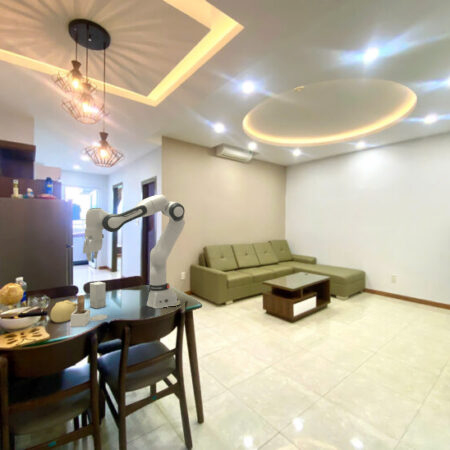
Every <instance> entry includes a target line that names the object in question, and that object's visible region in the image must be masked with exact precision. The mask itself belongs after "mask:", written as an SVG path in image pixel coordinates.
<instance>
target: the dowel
mask: <svg viewBox="0 0 450 450" xmlns="http://www.w3.org/2000/svg"><path fill="white" fill-rule="evenodd" d="M85 297H86V296H85V295H84V294H80V295H77V301H76V303H77V314H84V310H85V308H86V307H85V304H86V303H85V299H86V298H85Z"/></svg>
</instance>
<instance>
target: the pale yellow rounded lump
mask: <svg viewBox="0 0 450 450" xmlns="http://www.w3.org/2000/svg"><path fill="white" fill-rule="evenodd" d="M54 304H55V305H54V306H53V307H52V309H51V311H50V319H51V320H52V322H54V323H57V324H58V323H65V322H68V321H71V314H72V313H73V312H74V311H76V310H77V302H74V301H70V300H69V299H66V300H65V299H64V300H63V301H58V302H56V303H54Z"/></svg>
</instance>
